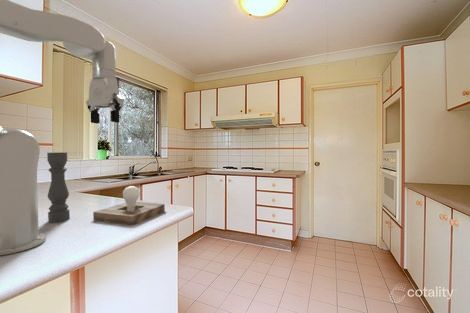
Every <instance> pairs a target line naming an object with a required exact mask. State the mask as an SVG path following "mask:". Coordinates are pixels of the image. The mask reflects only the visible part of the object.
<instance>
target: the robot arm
mask: <svg viewBox="0 0 470 313" xmlns="http://www.w3.org/2000/svg"><path fill="white" fill-rule="evenodd" d="M0 34H3V35H6V36H9V37H13V38H16V39H19V40H23V41H27V42H33V43H48V42H62V44H63V47H64V49H65V50H66V51H67V52H68V53H69V54H71V55H72V56H74V57H79V58H81V59H82V58H83V59H87V60H91V69H92V70H91V74H92V75H91V76H92V77H91V79H90V81H89V82H90V83H89V90H88V99H87V100H86V101H85V104H86V106H87V109H88V111H89V113H90V123H91V124H98V125H99V124H100V122H101V121H100V112H99V111H100V110H101V109H108V108H109V109H111V110H110V122H111V123H117V124H118V123H120V113H121V109H122V107H123V104H124V102H125V99H124V97H121V95H119V86H118V82H117V79H116V78H117V77H116V70H117V69H116V47H115V45H114V44H113V43H112V42H110V41H108V40H106V38H105V35H104V34H103V33H102V32H101V31H100V30H99V29H98V28H97V27H95V26H93V25H91V24H90V23H87V22H84V21H82V20H80V19H77V18H76V17H71V16H69V15H65V14H59V13H54V12H49V11H44V10H40V9H39V10H38V9H33V8H30V7H27V6H24V5H22V4H20V3H16V2H13V1H11V0H0ZM40 149H41V148H40V144H39V141H38V140H37V138H36V137H35V136H34V135H33V134H32V133H30V132H28V131H26V130H23V129H19V128H3V127H2V126H0V256H5V255H11V254H15V253H19V252H20V253H21V252H23V251H26V250H30V249H33V248H35V247H37V246H39V245H41V244H43V243H44V242H45V241H46V240H47V235H46V233H45V234H44V233H42V232H40V231H39V206H38V205H39V204H38V166H39V165H38V164H39V159H40V153H41V152H40Z"/></svg>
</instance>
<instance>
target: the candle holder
mask: <svg viewBox="0 0 470 313" xmlns="http://www.w3.org/2000/svg"><path fill="white" fill-rule="evenodd" d="M46 156H47V157H46V159H47V162H48V165H49V166H50V168H49V169H48V172H49V173H50V177H51V179H50V180H51V181H50V186H49V189H48V193H47V199H48V200H49V201H50V203H51V205H50V206H49V208H48V210H49V211H48V212H47V215H48V216H47V219H48V220H47V222H48V223H50V224H56V223H62V222H66V221H69V220H70V218H71V217H70V209H69V205H68V204H67V203H66V202H67V199H68V198H69V196H70V192H69V190H68V185H67V183H66V180H65V174H66V171H67V167H65V166H66V164H67V162H68V152H47V155H46Z"/></svg>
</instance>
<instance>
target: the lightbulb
mask: <svg viewBox="0 0 470 313" xmlns="http://www.w3.org/2000/svg"><path fill="white" fill-rule="evenodd" d="M140 191H141V190H140V189H139V188H138V187H137V186H135V185H129V186H127V187H125V188H124V190H123V191H122V197H123V200H124V201H125V203H126V204H127V211H134V210H135V205H136V202H138V199H139V198H140V194H141V192H140Z"/></svg>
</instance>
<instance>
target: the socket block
mask: <svg viewBox="0 0 470 313" xmlns="http://www.w3.org/2000/svg"><path fill="white" fill-rule="evenodd" d="M163 212H165V204H164V203H154V202H145V201H144V202H143V201H136V205H135V210H134V211H127V204H126V202H123V203H119V204H116V205H113V206H109V207H105V208H102V209H98V210H96V211H93V214H92V215H93V221H99V222H104V223H105V222H106V223H107V222H108V223H112V224H113V223H114V224H121V225H129V226H134V225H136V224H139V223H140V222H143V221H146V220H148V219H149V218H152V217H154V216H157V215H159V214H161V213H163Z"/></svg>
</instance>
